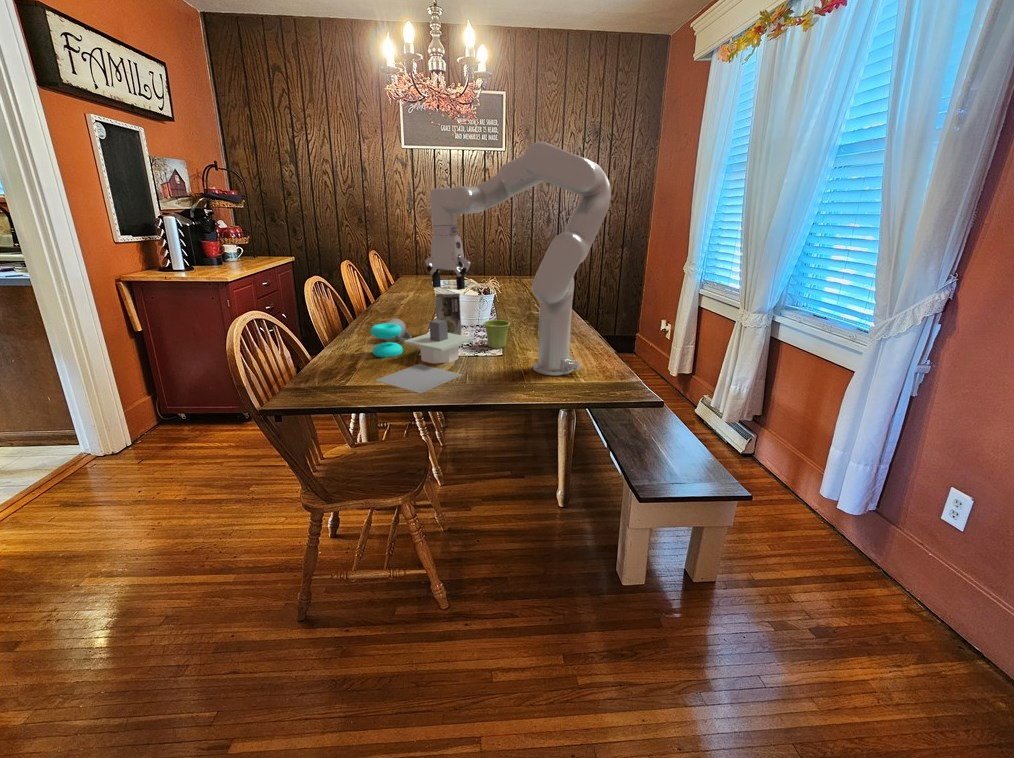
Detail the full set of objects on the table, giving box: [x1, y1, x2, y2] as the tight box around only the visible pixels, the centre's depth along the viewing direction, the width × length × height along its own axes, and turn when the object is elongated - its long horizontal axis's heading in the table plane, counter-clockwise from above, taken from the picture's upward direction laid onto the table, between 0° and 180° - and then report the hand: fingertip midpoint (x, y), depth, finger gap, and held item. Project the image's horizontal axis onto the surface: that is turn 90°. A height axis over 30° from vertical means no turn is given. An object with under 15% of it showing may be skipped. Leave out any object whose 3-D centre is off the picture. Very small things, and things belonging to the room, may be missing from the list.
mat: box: [374, 363, 463, 394], centre depth 140 cm, size 18×18×1 cm
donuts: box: [370, 322, 404, 359], centre depth 161 cm, size 10×10×10 cm
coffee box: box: [435, 293, 463, 336], centre depth 183 cm, size 9×6×16 cm
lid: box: [403, 318, 474, 352], centre depth 155 cm, size 16×16×7 cm
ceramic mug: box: [382, 318, 413, 343], centre depth 178 cm, size 11×8×8 cm
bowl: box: [420, 345, 460, 364], centre depth 157 cm, size 12×12×6 cm
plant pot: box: [483, 319, 511, 349], centre depth 171 cm, size 9×9×9 cm
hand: (448, 288), depth 151 cm, fingers open, 9 cm apart
